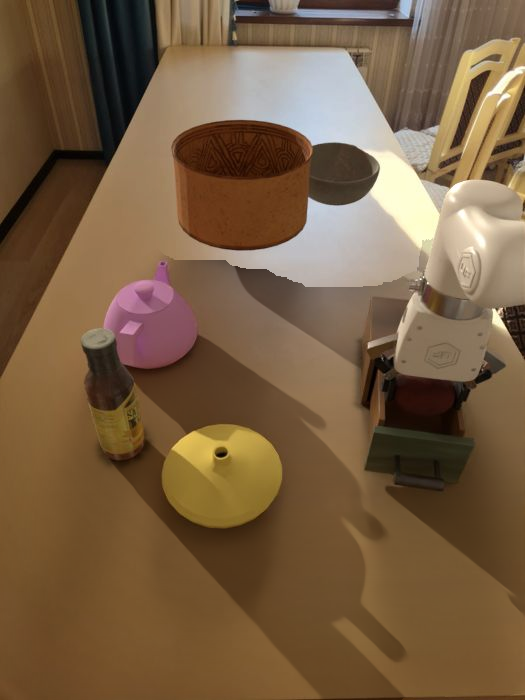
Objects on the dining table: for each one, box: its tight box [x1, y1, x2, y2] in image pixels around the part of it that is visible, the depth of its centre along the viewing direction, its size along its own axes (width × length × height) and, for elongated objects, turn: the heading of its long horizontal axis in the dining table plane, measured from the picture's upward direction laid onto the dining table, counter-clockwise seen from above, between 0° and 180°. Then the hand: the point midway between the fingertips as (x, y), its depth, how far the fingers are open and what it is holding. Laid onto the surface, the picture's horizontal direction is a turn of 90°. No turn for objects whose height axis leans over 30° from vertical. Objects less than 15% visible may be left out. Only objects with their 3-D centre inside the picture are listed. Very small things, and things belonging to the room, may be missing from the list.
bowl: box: [308, 141, 381, 207], centre depth 129 cm, size 20×20×10 cm
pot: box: [170, 119, 313, 252], centre depth 113 cm, size 28×28×20 cm
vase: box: [161, 423, 283, 529], centre depth 70 cm, size 16×16×7 cm
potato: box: [393, 373, 456, 417], centre depth 72 cm, size 7×8×6 cm
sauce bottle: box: [80, 327, 146, 461], centre depth 70 cm, size 6×6×20 cm
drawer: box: [363, 368, 476, 493], centre depth 74 cm, size 18×12×8 cm
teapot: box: [103, 260, 199, 370], centre depth 89 cm, size 22×16×12 cm
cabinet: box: [360, 295, 410, 406], centre depth 85 cm, size 15×14×10 cm
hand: (421, 397), depth 72 cm, fingers closed on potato, 8 cm apart
